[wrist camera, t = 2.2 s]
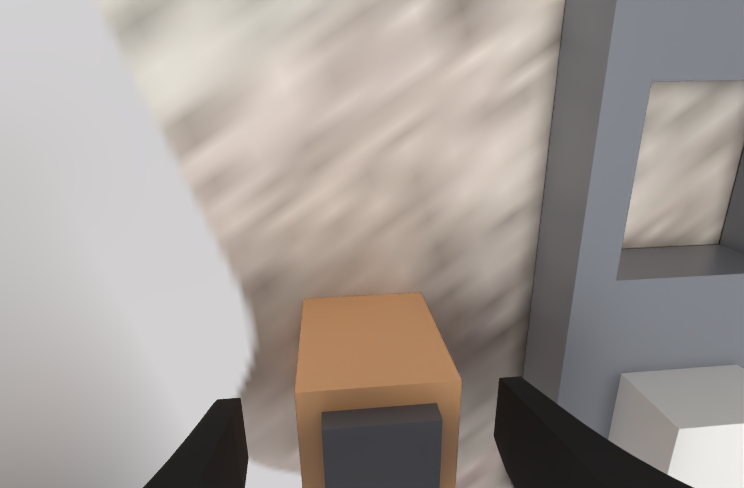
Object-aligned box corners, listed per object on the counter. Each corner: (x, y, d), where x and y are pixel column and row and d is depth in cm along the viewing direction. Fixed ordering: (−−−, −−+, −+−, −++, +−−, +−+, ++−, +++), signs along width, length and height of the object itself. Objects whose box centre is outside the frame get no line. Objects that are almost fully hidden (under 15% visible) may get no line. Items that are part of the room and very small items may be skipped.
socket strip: (677, 509, 20) (782, 636, 16) (505, 527, 20) (562, 665, 15) (819, 0, 14) (1077, -45, 9) (565, -1, 13) (703, -51, 8)
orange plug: (418, 389, 17) (460, 525, 12) (310, 397, 17) (304, 541, 11) (420, 291, 16) (469, 396, 10) (303, 298, 15) (292, 410, 10)
